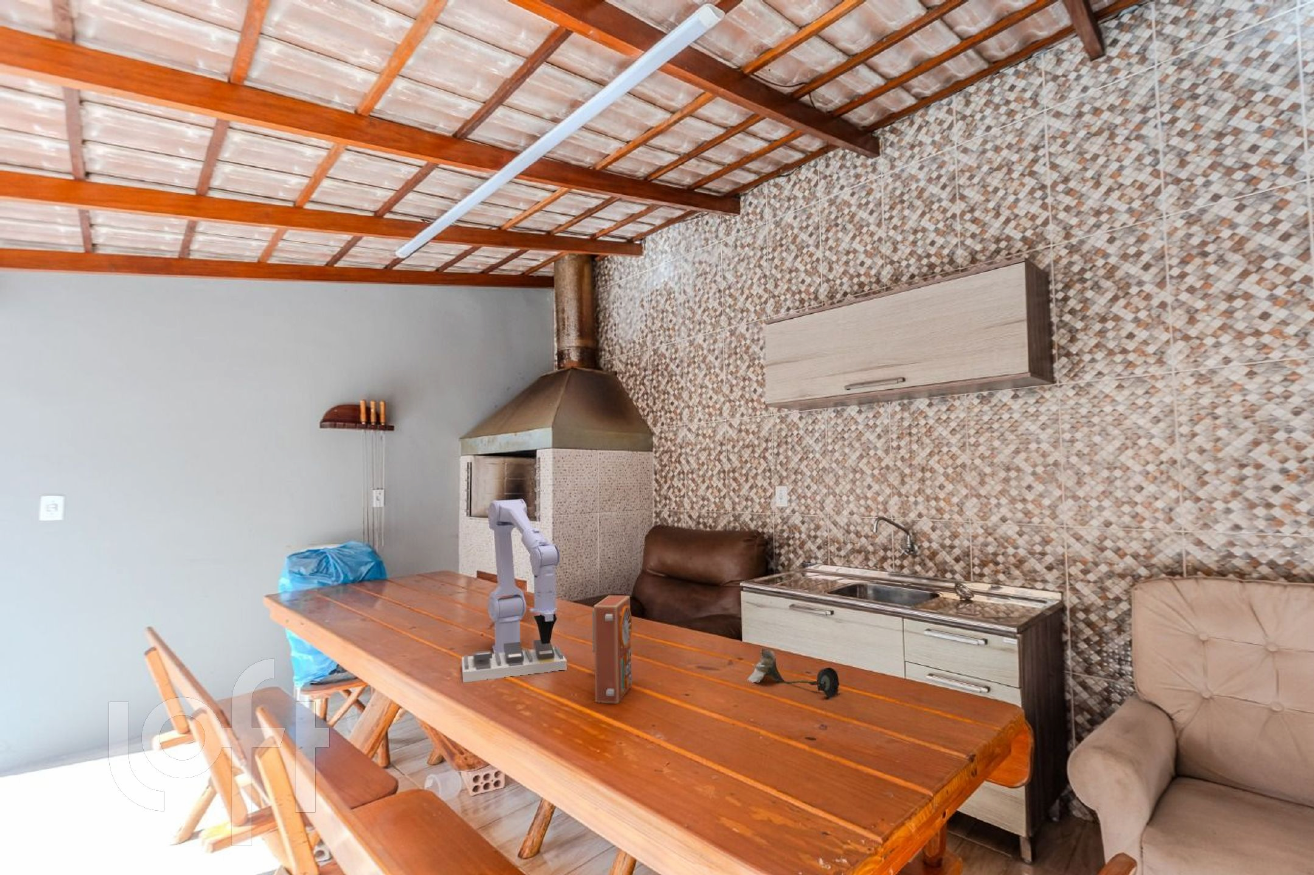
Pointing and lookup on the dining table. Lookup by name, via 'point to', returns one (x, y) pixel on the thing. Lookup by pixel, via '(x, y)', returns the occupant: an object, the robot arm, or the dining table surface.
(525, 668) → the switch board
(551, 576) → the robot arm
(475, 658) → the rocker
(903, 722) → the dining table surface
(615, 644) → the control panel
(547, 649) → the block
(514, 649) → the middle rocker
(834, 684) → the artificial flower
